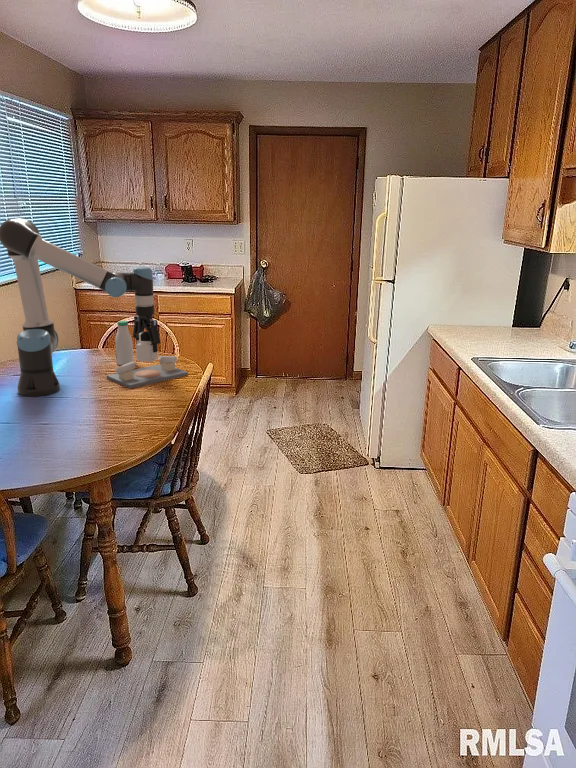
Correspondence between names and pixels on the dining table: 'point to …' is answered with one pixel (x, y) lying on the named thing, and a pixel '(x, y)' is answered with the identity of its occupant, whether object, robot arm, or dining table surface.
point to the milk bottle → (123, 344)
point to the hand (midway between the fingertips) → (147, 357)
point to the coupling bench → (147, 373)
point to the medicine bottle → (144, 348)
